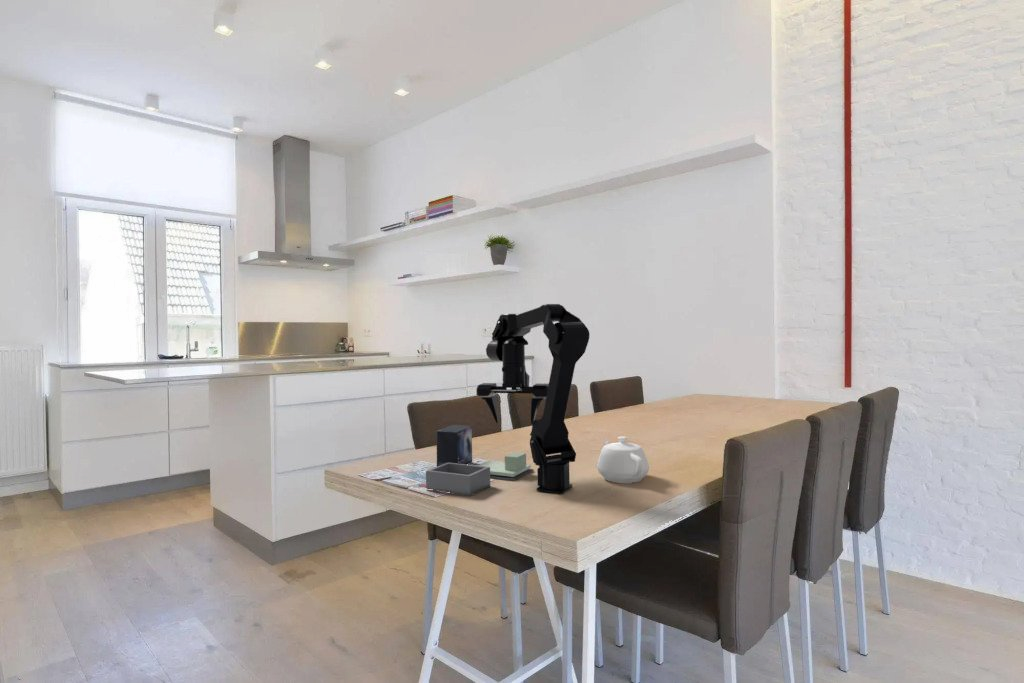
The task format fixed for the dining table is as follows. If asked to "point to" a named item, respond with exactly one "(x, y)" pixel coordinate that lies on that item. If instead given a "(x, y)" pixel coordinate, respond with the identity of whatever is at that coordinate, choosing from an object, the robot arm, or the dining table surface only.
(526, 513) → the dining table surface
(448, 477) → the tub
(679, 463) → the dining table surface
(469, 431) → the small box
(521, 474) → the mat
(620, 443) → the teapot
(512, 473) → the lid
